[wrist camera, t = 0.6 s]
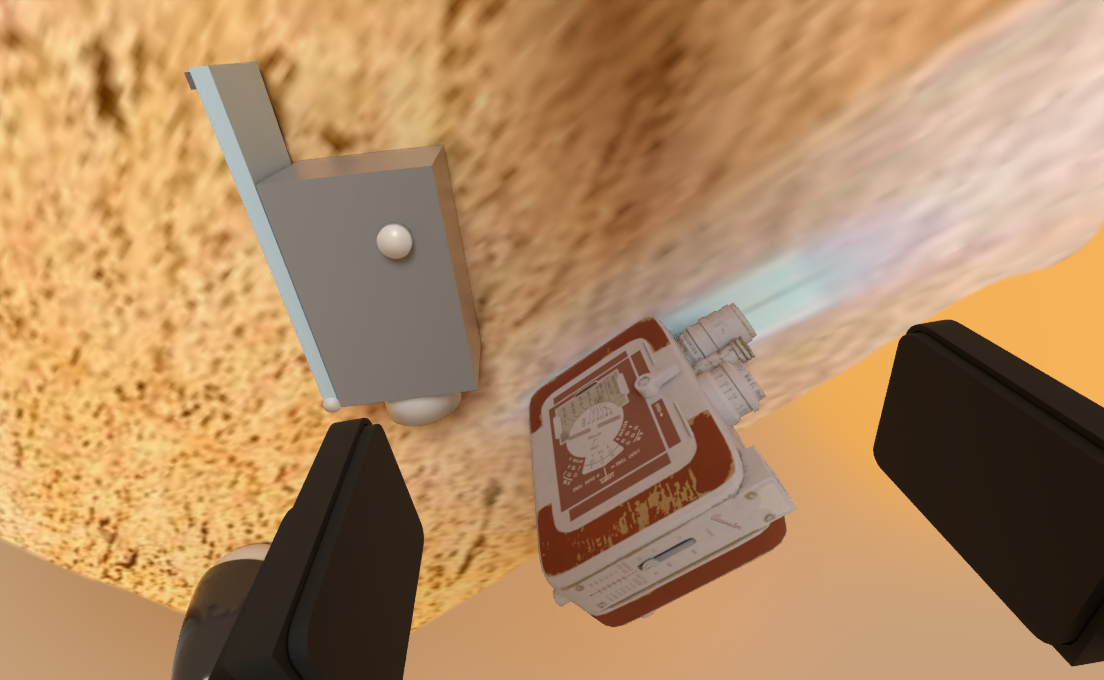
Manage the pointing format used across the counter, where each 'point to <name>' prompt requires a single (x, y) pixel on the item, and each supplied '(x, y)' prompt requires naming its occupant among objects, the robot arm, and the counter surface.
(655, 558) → the cine camera
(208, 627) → the dark grey egg-shaped piece
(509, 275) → the counter surface
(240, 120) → the side door
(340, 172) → the block
